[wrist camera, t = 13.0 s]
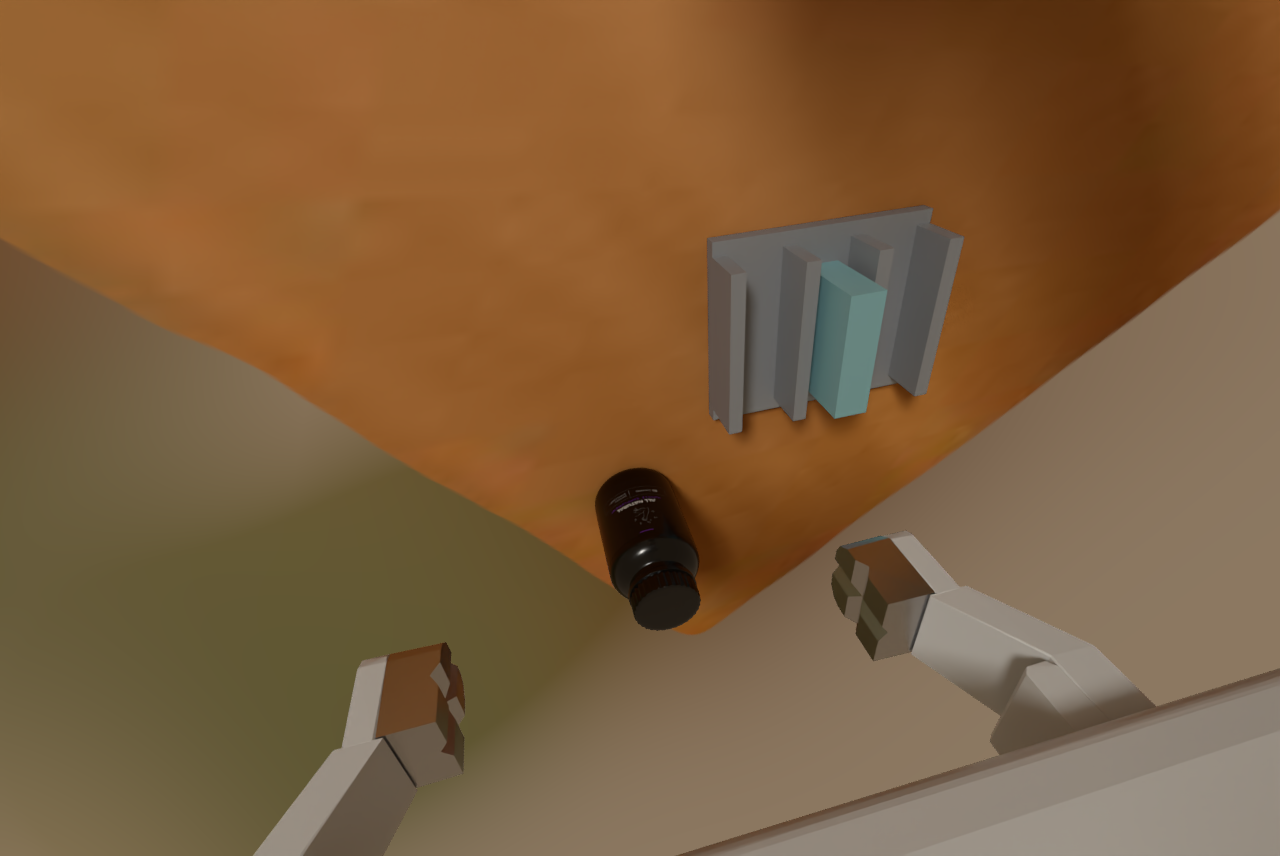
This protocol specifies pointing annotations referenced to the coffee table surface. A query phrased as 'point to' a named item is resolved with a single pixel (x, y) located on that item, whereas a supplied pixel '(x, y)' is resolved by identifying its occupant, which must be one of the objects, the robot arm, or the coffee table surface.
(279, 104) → the coffee table surface
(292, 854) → the robot arm
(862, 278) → the teal upright panel
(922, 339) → the rack
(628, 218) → the coffee table surface
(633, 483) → the supplement bottle
